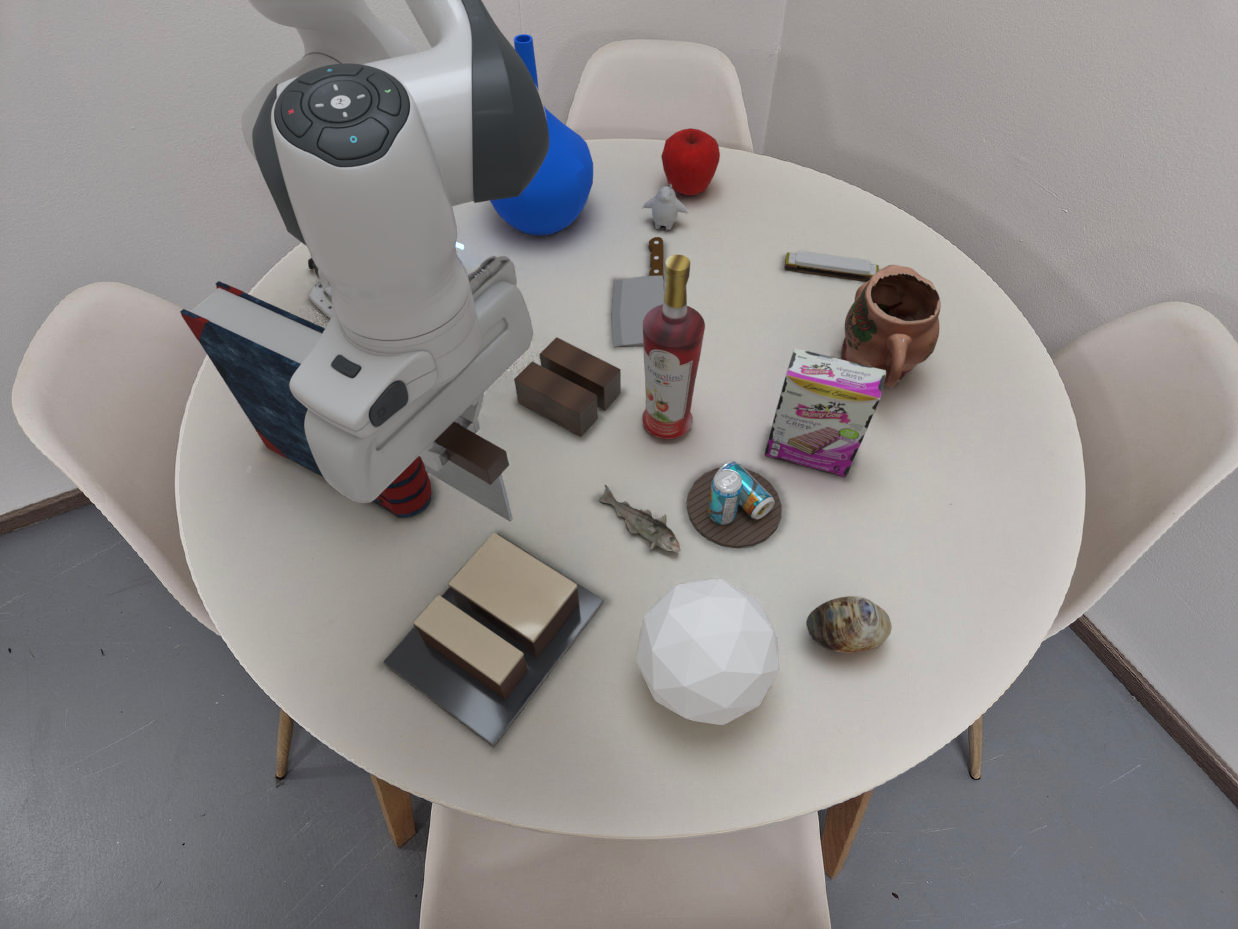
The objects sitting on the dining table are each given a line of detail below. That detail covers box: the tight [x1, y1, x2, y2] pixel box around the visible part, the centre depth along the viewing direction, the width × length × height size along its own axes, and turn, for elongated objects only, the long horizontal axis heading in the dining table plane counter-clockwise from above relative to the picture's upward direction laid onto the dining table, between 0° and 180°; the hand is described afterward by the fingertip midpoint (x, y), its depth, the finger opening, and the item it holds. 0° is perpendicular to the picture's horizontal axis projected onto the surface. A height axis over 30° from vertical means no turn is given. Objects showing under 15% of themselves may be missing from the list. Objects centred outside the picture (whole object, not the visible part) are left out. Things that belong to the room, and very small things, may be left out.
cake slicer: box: [423, 422, 514, 523], centre depth 66 cm, size 10×2×9 cm, turn 56°
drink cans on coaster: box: [686, 459, 782, 549], centre depth 94 cm, size 12×12×8 cm
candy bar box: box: [764, 347, 886, 478], centre depth 95 cm, size 11×5×16 cm, turn 71°
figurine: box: [641, 182, 689, 232], centre depth 127 cm, size 8×6×8 cm
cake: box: [382, 532, 604, 747], centre depth 85 cm, size 16×20×6 cm
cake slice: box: [413, 594, 528, 699], centre depth 83 cm, size 12×4×5 cm, turn 56°
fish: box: [598, 484, 682, 553], centre depth 95 cm, size 13×4×5 cm
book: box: [179, 280, 433, 519], centre depth 91 cm, size 25×7×25 cm, turn 61°
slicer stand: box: [513, 337, 622, 438], centre depth 106 cm, size 11×10×5 cm
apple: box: [661, 127, 721, 196], centre depth 131 cm, size 10×10×11 cm
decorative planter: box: [841, 264, 942, 388], centre depth 105 cm, size 20×12×14 cm, turn 176°
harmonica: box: [784, 250, 880, 282], centre depth 122 cm, size 15×3×2 cm, turn 77°
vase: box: [489, 33, 594, 237], centre depth 119 cm, size 18×18×30 cm
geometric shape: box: [635, 577, 781, 726], centre depth 79 cm, size 14×15×15 cm
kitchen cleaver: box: [611, 236, 665, 348], centre depth 120 cm, size 24×1×10 cm
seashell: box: [805, 595, 893, 654], centre depth 84 cm, size 10×6×8 cm, turn 91°
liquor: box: [641, 254, 706, 440], centre depth 94 cm, size 7×7×28 cm
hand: (452, 447), depth 64 cm, fingers closed on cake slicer, 2 cm apart
